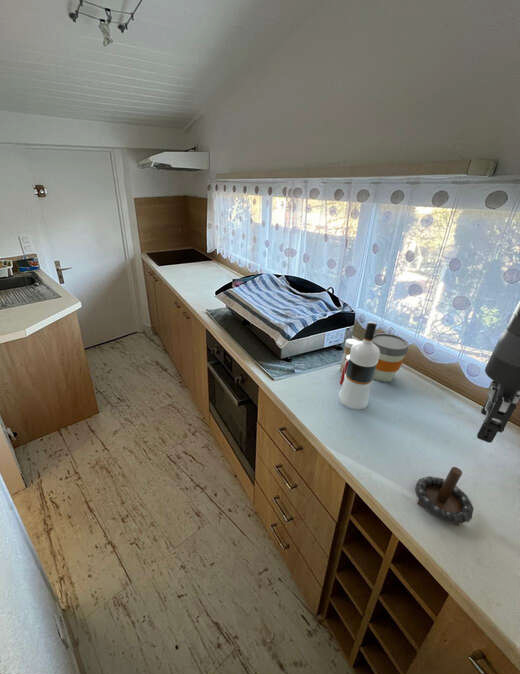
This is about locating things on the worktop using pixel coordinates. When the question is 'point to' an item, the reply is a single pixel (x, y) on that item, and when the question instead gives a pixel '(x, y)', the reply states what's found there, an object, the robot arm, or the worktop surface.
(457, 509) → the post
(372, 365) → the vodka
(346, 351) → the sprinkles bottle
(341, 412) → the worktop surface
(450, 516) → the ring
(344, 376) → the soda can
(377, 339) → the reusable coffee cup
